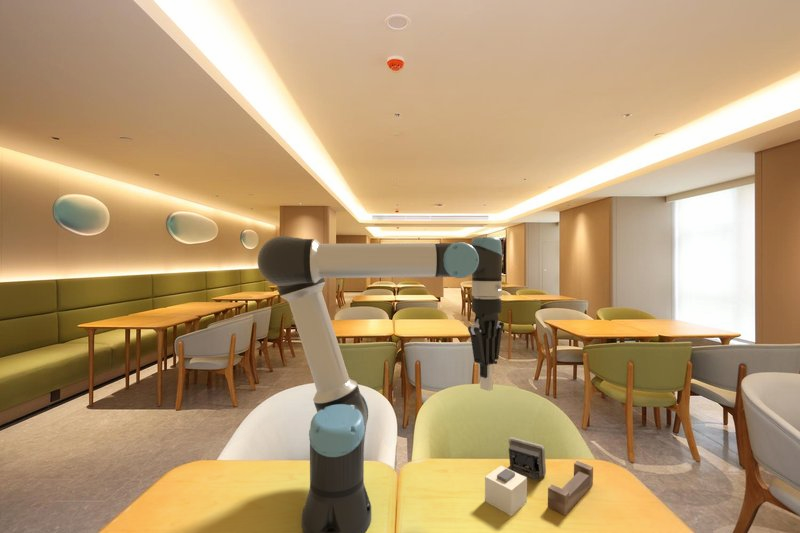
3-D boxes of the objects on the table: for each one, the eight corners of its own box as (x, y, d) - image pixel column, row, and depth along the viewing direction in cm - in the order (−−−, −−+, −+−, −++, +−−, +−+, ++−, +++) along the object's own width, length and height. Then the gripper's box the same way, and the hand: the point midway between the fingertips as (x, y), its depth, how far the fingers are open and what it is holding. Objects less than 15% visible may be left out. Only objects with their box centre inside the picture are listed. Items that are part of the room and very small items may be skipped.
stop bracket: (547, 506, 86) (548, 487, 86) (576, 477, 97) (577, 460, 97) (565, 515, 83) (565, 495, 83) (592, 484, 95) (593, 466, 94)
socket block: (484, 501, 88) (485, 473, 88) (500, 489, 93) (501, 462, 92) (511, 516, 83) (511, 486, 83) (526, 502, 87) (527, 474, 87)
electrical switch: (546, 475, 99) (546, 442, 98) (542, 486, 94) (541, 452, 93) (511, 464, 104) (510, 433, 103) (505, 475, 99) (505, 442, 98)
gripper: (484, 300, 87) (484, 399, 87) (513, 296, 96) (513, 386, 96) (459, 298, 93) (459, 391, 93) (488, 295, 102) (488, 380, 102)
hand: (486, 388), depth 95 cm, fingers closed
